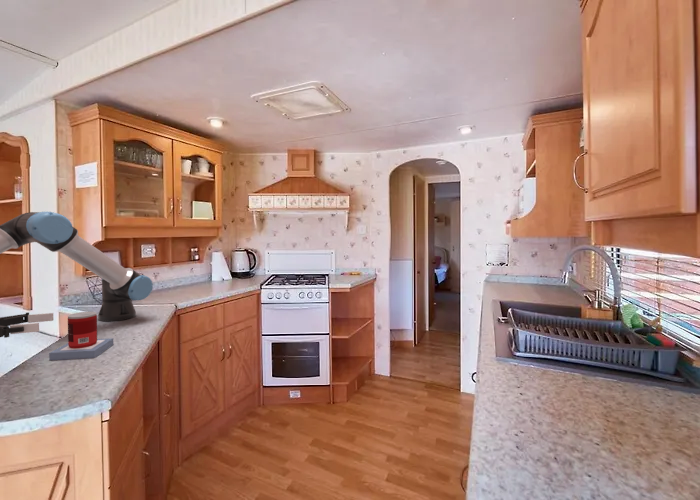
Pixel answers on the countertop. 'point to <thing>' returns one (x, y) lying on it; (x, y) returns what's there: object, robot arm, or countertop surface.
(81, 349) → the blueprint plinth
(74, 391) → the countertop surface
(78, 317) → the canned food
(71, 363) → the countertop surface
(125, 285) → the robot arm
